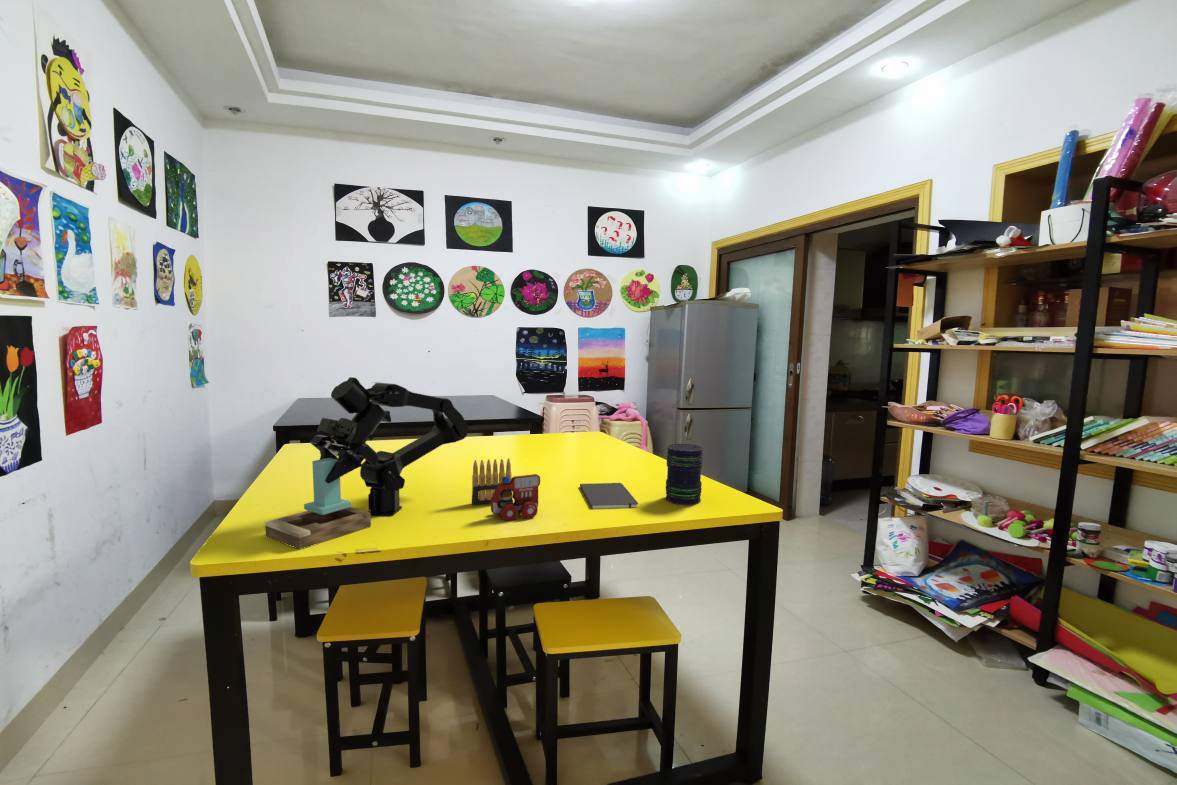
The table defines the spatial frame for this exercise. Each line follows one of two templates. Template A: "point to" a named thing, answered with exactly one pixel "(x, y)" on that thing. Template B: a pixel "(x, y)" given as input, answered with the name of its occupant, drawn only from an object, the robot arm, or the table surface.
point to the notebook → (608, 495)
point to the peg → (325, 489)
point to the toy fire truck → (516, 497)
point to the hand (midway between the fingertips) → (321, 480)
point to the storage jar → (684, 474)
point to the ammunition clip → (487, 481)
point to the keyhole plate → (316, 526)
